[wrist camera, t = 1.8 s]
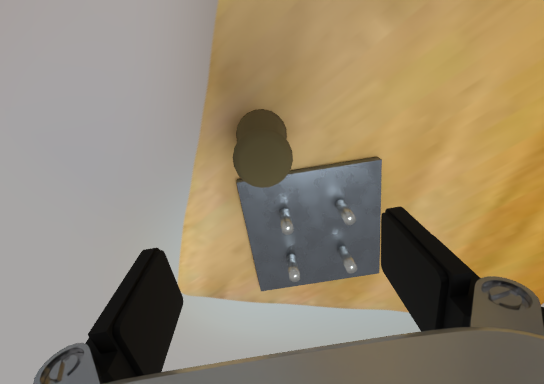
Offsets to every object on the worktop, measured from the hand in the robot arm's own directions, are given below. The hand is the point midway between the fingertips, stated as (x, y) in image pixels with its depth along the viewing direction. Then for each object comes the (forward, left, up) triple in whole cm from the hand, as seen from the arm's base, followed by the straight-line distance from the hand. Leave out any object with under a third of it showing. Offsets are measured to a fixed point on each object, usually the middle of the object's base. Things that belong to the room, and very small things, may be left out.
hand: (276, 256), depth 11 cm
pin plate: (+14, +5, -22) cm, 27 cm away
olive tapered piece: (0, 0, -23) cm, 23 cm away
